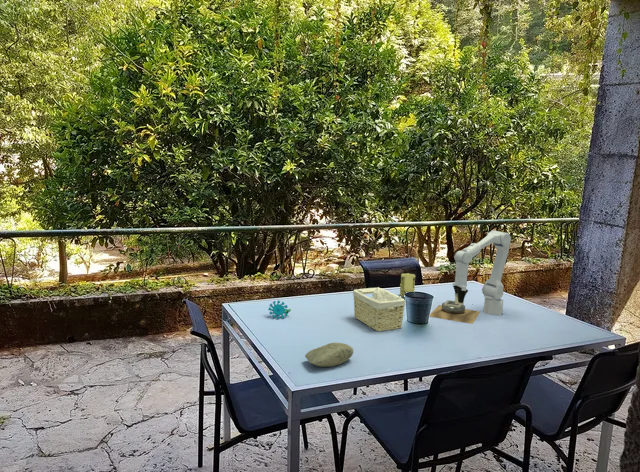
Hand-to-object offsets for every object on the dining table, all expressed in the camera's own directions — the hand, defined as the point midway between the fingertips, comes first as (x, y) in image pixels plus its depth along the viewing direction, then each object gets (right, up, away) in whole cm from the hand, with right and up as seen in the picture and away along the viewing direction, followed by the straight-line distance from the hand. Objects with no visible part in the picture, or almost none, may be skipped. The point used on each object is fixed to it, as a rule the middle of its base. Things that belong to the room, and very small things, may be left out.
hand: (459, 301), depth 263 cm
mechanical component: (-20, -3, +37) cm, 43 cm away
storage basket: (-43, -10, -10) cm, 45 cm away
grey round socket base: (0, -7, +12) cm, 14 cm away
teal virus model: (-90, -7, -6) cm, 91 cm away
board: (-1, -8, +7) cm, 11 cm away
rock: (-66, -17, -61) cm, 92 cm away
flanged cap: (0, -1, 0) cm, 1 cm away
